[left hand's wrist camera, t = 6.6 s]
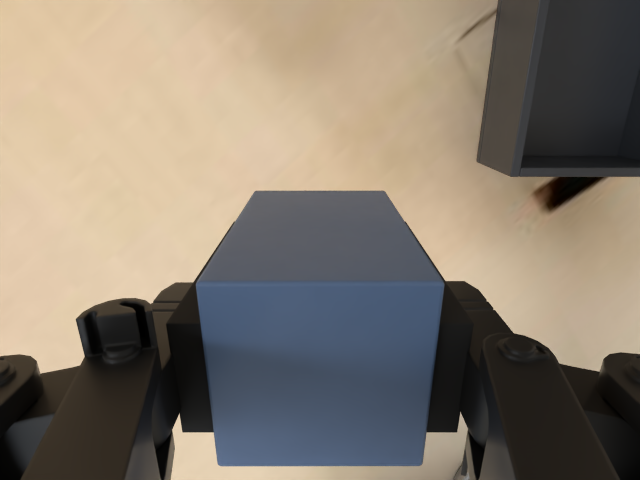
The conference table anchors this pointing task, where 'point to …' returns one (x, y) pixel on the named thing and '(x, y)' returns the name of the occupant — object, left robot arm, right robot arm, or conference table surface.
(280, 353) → the block
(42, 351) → the conference table surface
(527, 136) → the tray
